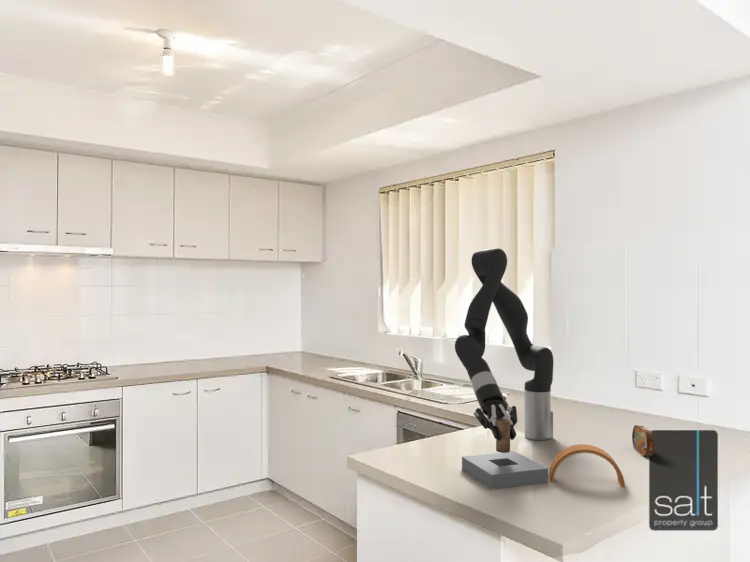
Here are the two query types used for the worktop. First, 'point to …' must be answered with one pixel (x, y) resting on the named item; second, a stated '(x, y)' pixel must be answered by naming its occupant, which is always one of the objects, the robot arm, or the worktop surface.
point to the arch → (583, 449)
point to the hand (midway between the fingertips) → (506, 438)
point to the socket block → (504, 470)
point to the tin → (643, 440)
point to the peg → (503, 435)
